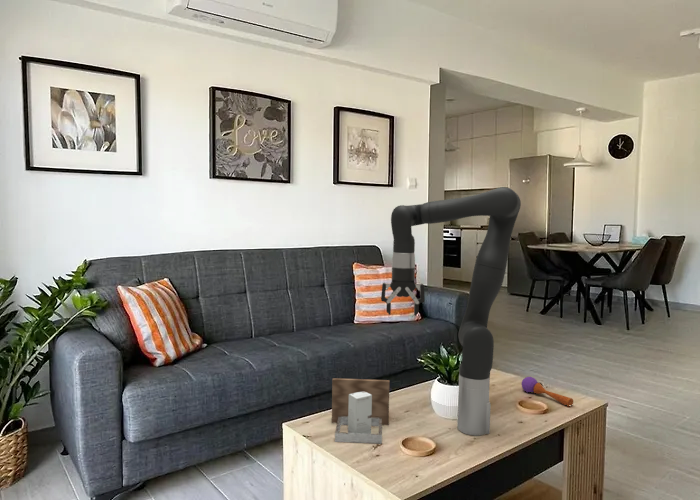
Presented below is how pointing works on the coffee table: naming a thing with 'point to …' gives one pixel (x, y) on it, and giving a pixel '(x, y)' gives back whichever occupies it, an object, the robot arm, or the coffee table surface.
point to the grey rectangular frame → (358, 436)
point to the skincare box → (360, 412)
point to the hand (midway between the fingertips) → (402, 314)
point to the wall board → (350, 386)
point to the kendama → (543, 390)
